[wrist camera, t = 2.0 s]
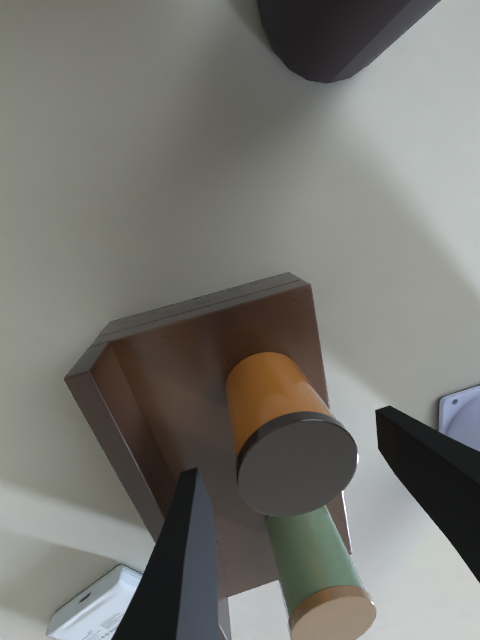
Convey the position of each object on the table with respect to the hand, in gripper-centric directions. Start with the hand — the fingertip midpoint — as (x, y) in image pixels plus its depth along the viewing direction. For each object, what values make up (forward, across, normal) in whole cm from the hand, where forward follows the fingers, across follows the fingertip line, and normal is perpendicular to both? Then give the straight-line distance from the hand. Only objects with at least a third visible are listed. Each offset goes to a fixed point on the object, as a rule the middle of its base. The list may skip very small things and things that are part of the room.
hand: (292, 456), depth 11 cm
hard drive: (+8, +16, +22) cm, 28 cm away
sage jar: (+5, 0, +11) cm, 12 cm away
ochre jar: (+5, 0, 0) cm, 5 cm away
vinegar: (+8, -8, -17) cm, 20 cm away
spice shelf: (+8, +2, +6) cm, 10 cm away
